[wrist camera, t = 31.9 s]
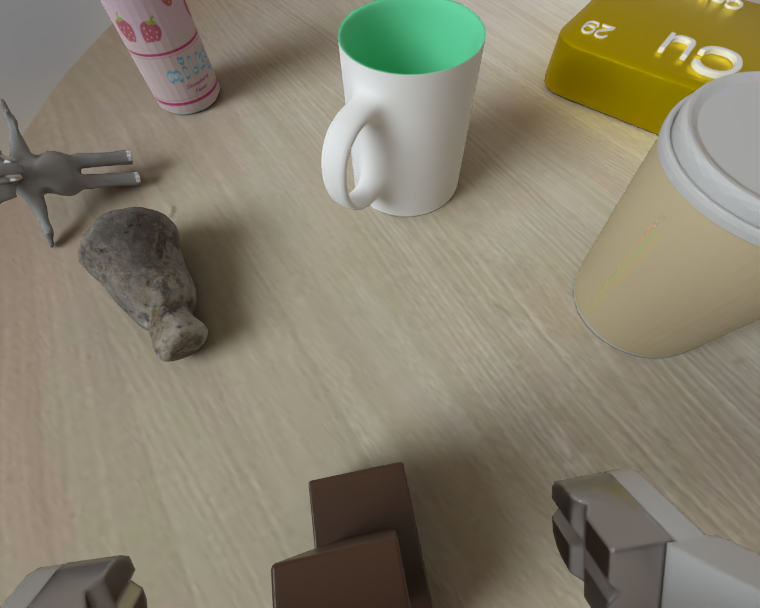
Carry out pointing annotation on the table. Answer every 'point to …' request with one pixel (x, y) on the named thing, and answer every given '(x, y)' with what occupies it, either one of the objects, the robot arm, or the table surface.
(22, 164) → the elephant figurine
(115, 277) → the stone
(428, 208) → the mug
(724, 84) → the coffee cup
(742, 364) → the table surface
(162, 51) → the beverage can
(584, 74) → the element tile
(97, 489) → the table surface
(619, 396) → the table surface
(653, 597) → the robot arm
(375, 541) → the brush
